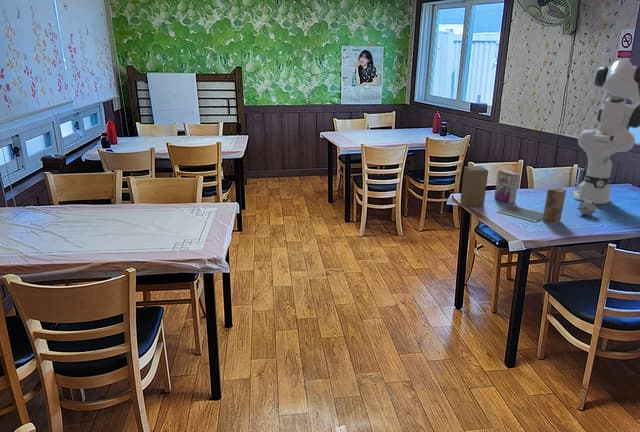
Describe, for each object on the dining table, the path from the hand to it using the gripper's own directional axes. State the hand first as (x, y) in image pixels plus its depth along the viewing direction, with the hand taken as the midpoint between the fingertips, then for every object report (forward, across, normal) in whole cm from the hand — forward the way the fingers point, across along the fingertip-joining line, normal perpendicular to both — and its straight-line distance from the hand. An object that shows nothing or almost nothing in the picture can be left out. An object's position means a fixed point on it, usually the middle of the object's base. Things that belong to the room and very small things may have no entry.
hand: (601, 165), depth 206 cm
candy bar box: (+29, -6, -46) cm, 55 cm away
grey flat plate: (+29, +8, -28) cm, 41 cm away
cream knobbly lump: (+29, -15, -7) cm, 34 cm away
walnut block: (+29, +8, -14) cm, 33 cm away
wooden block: (+29, +14, -54) cm, 63 cm away
